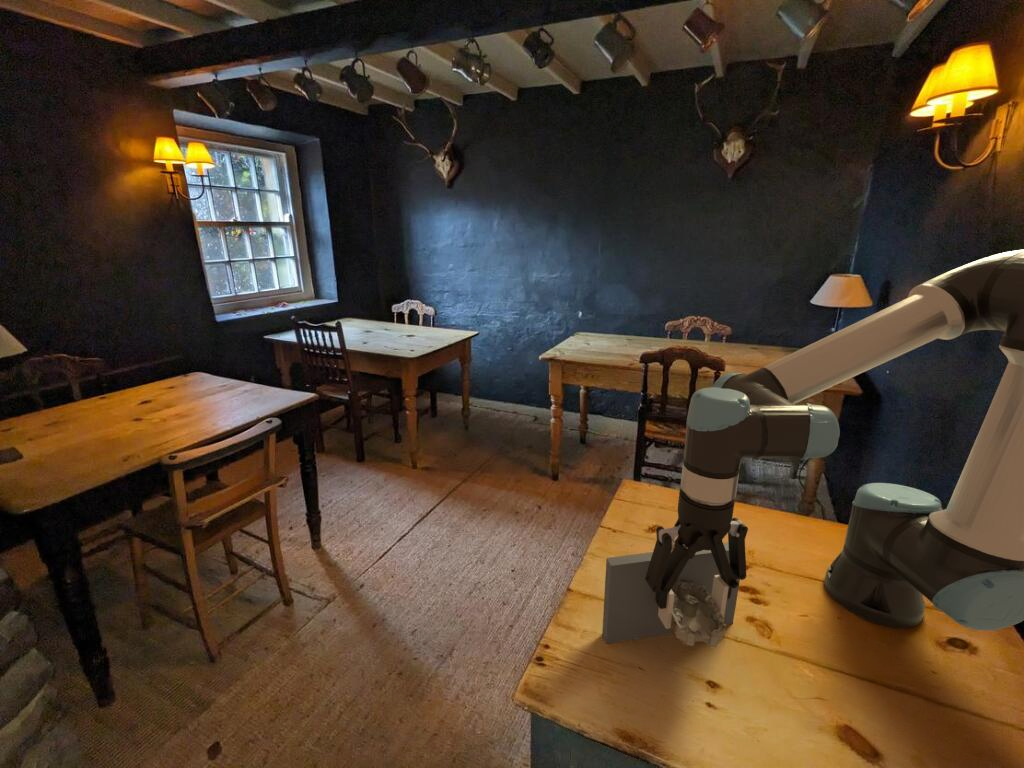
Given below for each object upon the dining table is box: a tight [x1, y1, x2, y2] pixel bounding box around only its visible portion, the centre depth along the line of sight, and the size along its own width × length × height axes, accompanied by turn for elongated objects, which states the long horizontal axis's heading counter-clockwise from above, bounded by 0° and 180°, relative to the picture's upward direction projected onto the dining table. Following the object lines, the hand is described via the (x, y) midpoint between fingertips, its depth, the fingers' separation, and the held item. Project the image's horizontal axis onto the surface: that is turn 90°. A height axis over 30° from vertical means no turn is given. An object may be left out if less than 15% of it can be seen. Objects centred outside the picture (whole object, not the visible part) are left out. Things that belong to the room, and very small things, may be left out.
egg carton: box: [671, 580, 728, 649], centre depth 73 cm, size 11×8×4 cm
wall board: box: [601, 542, 741, 645], centre depth 76 cm, size 24×10×16 cm, turn 100°
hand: (690, 617), depth 74 cm, fingers closed on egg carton, 8 cm apart
